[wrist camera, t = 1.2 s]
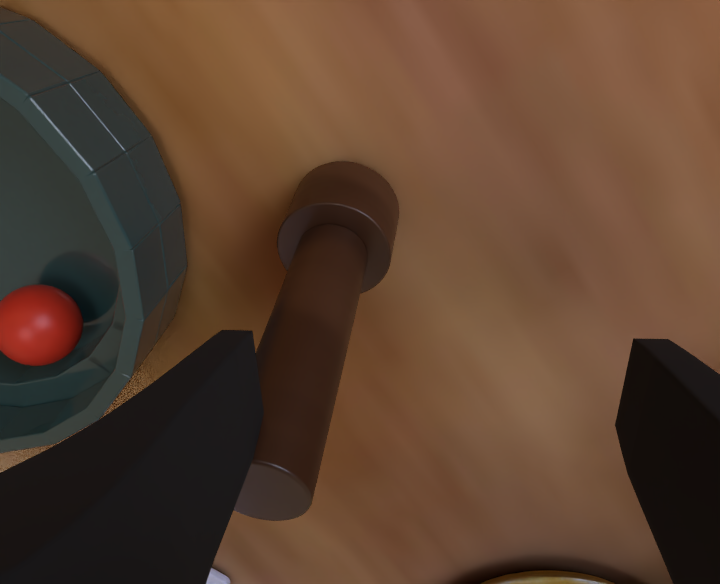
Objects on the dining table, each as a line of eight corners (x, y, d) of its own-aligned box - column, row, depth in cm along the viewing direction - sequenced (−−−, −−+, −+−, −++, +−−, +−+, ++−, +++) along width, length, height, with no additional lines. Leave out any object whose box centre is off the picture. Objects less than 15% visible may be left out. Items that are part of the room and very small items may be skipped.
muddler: (357, 267, 22) (286, 555, 14) (276, 211, 21) (146, 487, 13) (421, 204, 20) (381, 500, 12) (334, 139, 19) (224, 413, 11)
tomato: (78, 350, 25) (36, 396, 22) (10, 307, 24) (-41, 350, 21) (110, 302, 23) (70, 344, 21) (40, 255, 23) (-11, 294, 20)
